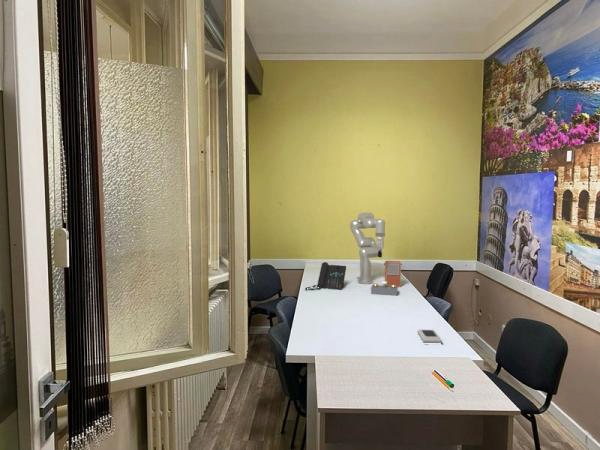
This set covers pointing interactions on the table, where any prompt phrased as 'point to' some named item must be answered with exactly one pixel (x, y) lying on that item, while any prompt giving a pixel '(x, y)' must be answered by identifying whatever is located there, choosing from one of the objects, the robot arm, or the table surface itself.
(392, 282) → the control panel
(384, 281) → the grey knob middle
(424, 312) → the table surface
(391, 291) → the mount
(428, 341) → the keypad
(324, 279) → the office phone
